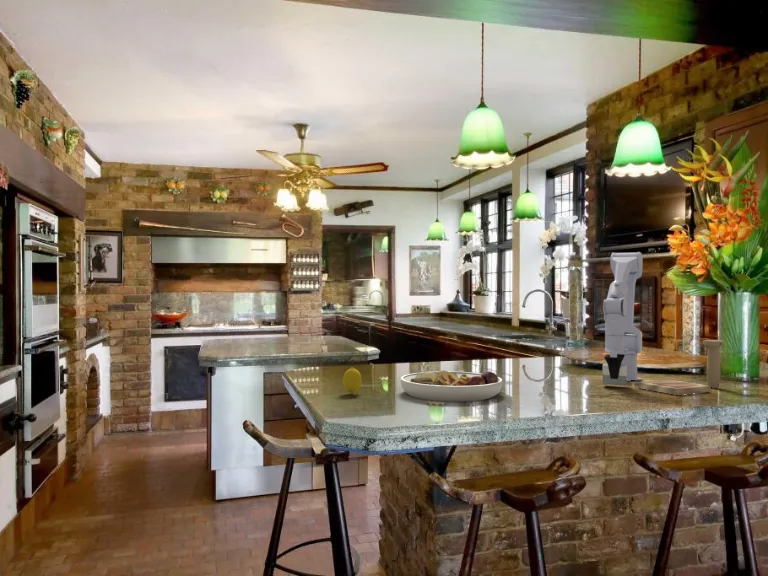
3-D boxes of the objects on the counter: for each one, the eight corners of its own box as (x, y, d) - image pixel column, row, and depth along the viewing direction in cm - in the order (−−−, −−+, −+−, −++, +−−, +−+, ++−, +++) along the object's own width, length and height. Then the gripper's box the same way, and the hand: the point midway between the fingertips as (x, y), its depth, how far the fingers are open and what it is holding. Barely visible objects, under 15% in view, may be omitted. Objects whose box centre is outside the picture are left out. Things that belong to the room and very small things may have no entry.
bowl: (382, 398, 175) (383, 371, 175) (425, 384, 202) (425, 360, 202) (482, 408, 161) (482, 378, 161) (514, 391, 188) (514, 366, 188)
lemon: (359, 396, 177) (359, 368, 177) (340, 395, 178) (340, 368, 178) (363, 393, 183) (363, 366, 183) (345, 392, 184) (345, 365, 184)
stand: (638, 388, 191) (638, 381, 191) (669, 385, 197) (669, 378, 197) (677, 395, 179) (677, 388, 179) (709, 392, 185) (709, 385, 185)
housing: (626, 385, 191) (626, 366, 191) (602, 384, 194) (602, 365, 194) (626, 383, 196) (626, 364, 196) (603, 382, 198) (603, 363, 198)
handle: (727, 388, 192) (727, 340, 192) (713, 389, 190) (713, 341, 190) (713, 386, 197) (713, 339, 197) (699, 387, 194) (699, 340, 194)
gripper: (627, 337, 187) (627, 381, 187) (628, 334, 200) (628, 375, 200) (602, 336, 189) (602, 380, 189) (606, 333, 203) (606, 374, 203)
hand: (614, 377), depth 195 cm, fingers closed on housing, 4 cm apart
